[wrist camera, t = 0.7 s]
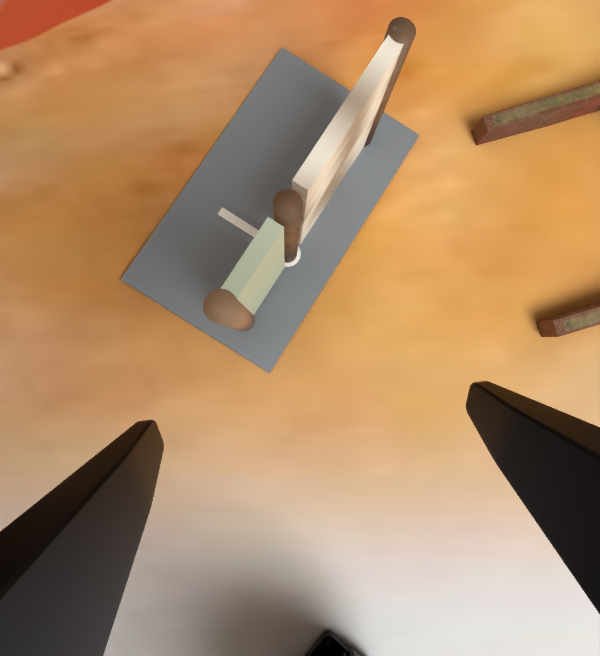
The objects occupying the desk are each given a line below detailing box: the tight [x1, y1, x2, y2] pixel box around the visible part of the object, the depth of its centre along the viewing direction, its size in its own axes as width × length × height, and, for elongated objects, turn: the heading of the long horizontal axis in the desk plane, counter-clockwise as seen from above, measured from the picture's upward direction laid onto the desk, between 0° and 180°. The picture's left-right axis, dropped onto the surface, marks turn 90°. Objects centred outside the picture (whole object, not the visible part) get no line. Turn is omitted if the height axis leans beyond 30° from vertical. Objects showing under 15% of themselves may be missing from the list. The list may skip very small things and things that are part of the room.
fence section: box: [273, 17, 416, 263], centre depth 20 cm, size 14×2×8 cm, turn 148°
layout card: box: [120, 47, 419, 373], centre depth 24 cm, size 24×14×1 cm, turn 148°
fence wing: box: [203, 217, 285, 331], centre depth 19 cm, size 6×2×8 cm, turn 148°
